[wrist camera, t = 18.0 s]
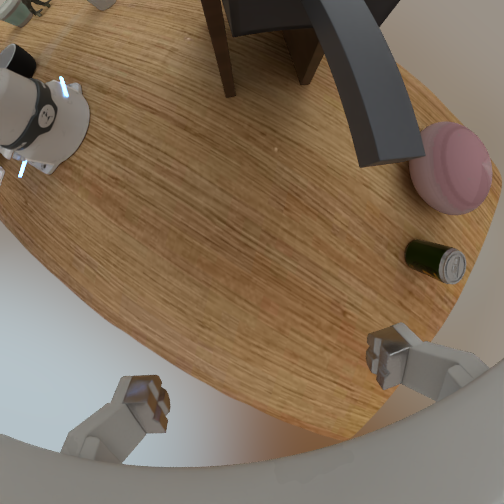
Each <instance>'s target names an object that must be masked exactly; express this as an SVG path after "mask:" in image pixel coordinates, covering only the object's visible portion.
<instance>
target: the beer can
mask: <svg viewBox="0 0 504 504" xmlns="http://www.w3.org/2000/svg"><path fill="white" fill-rule="evenodd" d="M405 260H406V262H407V264H408V266H409V267H410V268H412V269H414V270H417V271H419V272H421V273H423V274H426V275H428V276H430V277H432V278H435V279H437V280H439V281H441V282H443V283H446V284H456V283H458V282H459V281H460V280H461V279H462V277H463V275H464V273H465V270H466V259H465V256H464V254H463V253H462V252H460V251H459V250H458V249H455V248H452V247H448V246H444V245H440V244H437V243H433V242H428V241H424V240H420V239H416V240H414V241H412V242H410V243H409V244H408V246H407V247H406V250H405Z"/></svg>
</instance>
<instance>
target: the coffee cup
mask: <svg viewBox="0 0 504 504" xmlns="http://www.w3.org/2000/svg"><path fill="white" fill-rule="evenodd" d="M32 16H33V13H31V12H30V11H29V10H28V8H27V7H26V6H25V5H24V4H23V3H22V1H21V0H6V1H5V2H4V3H3V4H2V5H1V7H0V20H3V21H5V22H8V23H10V24H13V25H15V26H18V27H23V26H24V25H26V24H27V23H28V22H29V20H30V19H31V18H32Z"/></svg>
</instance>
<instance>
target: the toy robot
mask: <svg viewBox="0 0 504 504" xmlns="http://www.w3.org/2000/svg"><path fill="white" fill-rule="evenodd" d="M0 153H1V154H2V155H3V156H4V157H5V158H7V159H9V160H10V158H11V156H12V153H13V150H8V149H6V148H3V147H1V146H0ZM4 173H5V171H4V169H3V168H2V167H1V166H0V185H1V182H2V179H3V176H4Z"/></svg>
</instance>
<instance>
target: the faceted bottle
mask: <svg viewBox="0 0 504 504" xmlns="http://www.w3.org/2000/svg"><path fill="white" fill-rule="evenodd" d="M87 1H89V2H90V3H91V4H93V5H94V6H95V7H96V8H98V9H99V10H102V11H103V10H106V9H108V8H110V7H111V6H112V5H113V4H114V3H115V2H116V0H87Z"/></svg>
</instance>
